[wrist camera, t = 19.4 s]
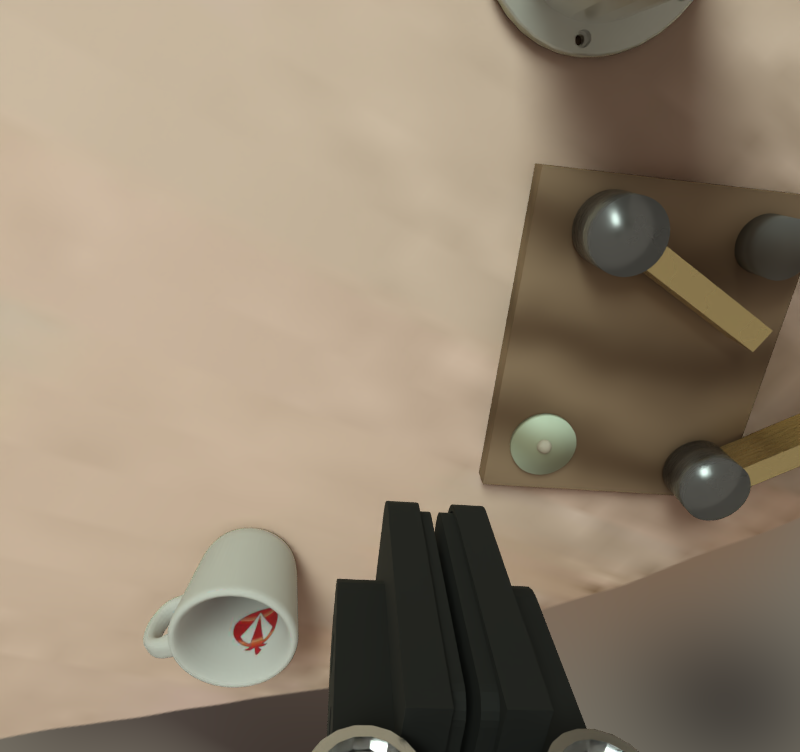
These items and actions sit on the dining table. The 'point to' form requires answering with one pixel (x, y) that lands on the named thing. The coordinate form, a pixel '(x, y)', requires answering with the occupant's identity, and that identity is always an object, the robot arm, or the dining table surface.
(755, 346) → the ball knob lever
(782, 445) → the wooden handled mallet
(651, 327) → the base plate
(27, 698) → the dining table surface
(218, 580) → the cup
